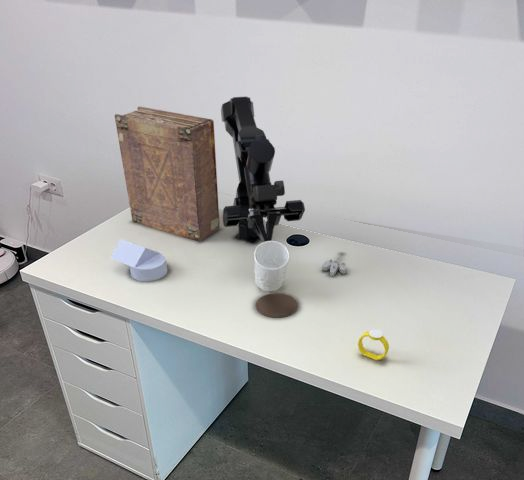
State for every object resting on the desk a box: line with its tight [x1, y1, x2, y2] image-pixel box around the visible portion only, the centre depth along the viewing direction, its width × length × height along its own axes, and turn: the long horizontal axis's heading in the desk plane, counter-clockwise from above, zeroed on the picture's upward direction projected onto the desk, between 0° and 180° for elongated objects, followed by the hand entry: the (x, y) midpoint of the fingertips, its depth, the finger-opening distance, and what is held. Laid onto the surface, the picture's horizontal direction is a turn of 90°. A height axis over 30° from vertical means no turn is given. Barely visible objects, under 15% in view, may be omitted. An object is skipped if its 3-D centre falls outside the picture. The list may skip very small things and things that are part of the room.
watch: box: [357, 328, 390, 361], centre depth 106 cm, size 6×3×6 cm, turn 58°
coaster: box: [255, 292, 299, 319], centre depth 122 cm, size 10×10×1 cm
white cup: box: [253, 240, 290, 292], centre depth 124 cm, size 8×8×10 cm
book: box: [114, 106, 221, 242], centre depth 146 cm, size 25×9×30 cm, turn 58°
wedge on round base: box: [109, 238, 168, 282], centre depth 134 cm, size 9×7×13 cm
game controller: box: [322, 252, 347, 277], centre depth 136 cm, size 6×12×3 cm, turn 179°
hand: (268, 247), depth 124 cm, fingers closed, pressing on white cup
